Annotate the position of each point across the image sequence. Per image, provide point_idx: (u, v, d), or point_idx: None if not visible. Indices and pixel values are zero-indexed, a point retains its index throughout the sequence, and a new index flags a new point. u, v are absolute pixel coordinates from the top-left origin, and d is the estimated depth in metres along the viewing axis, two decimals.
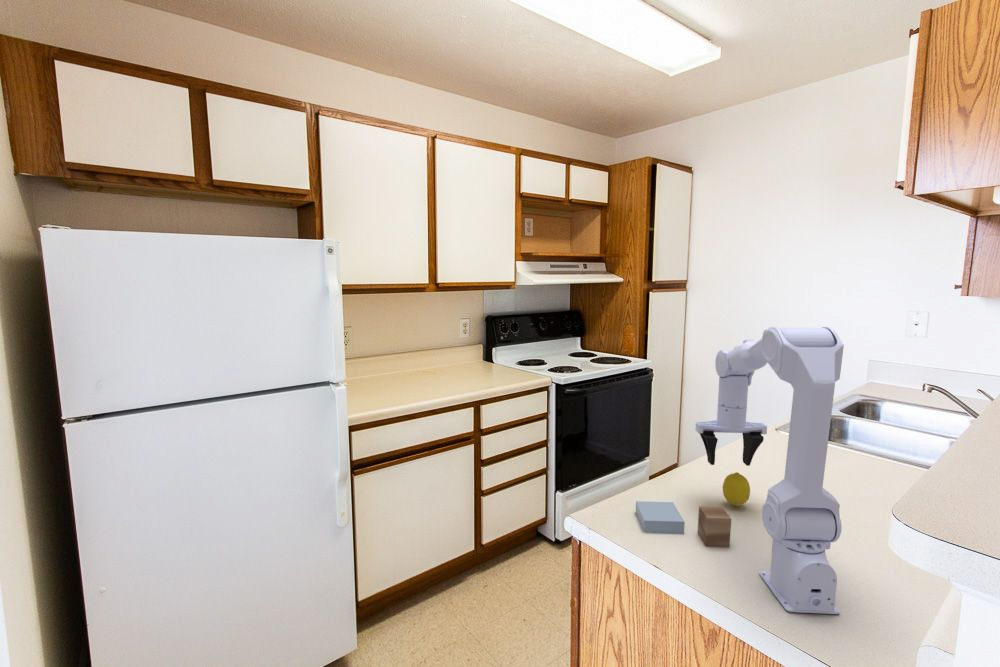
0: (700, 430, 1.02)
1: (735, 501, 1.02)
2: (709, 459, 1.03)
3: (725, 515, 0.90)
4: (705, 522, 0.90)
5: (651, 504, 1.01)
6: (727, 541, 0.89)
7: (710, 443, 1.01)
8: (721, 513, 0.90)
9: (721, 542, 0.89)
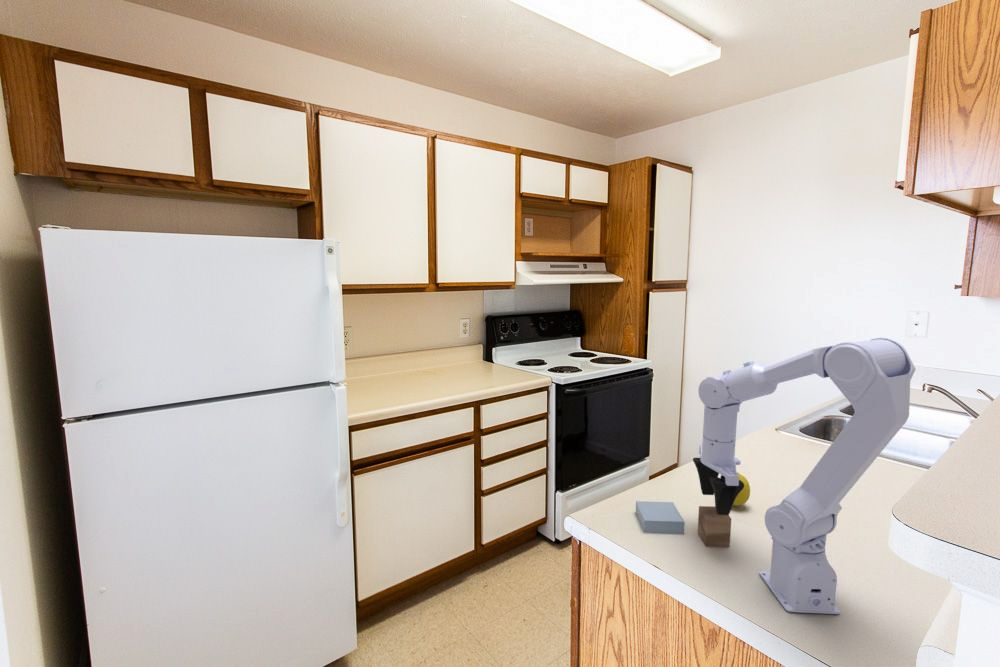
0: (699, 451, 0.96)
1: (735, 501, 1.02)
2: None
3: (725, 515, 0.90)
4: (705, 522, 0.90)
5: (651, 504, 1.01)
6: (727, 541, 0.89)
7: (696, 466, 0.95)
8: None
9: (721, 542, 0.89)
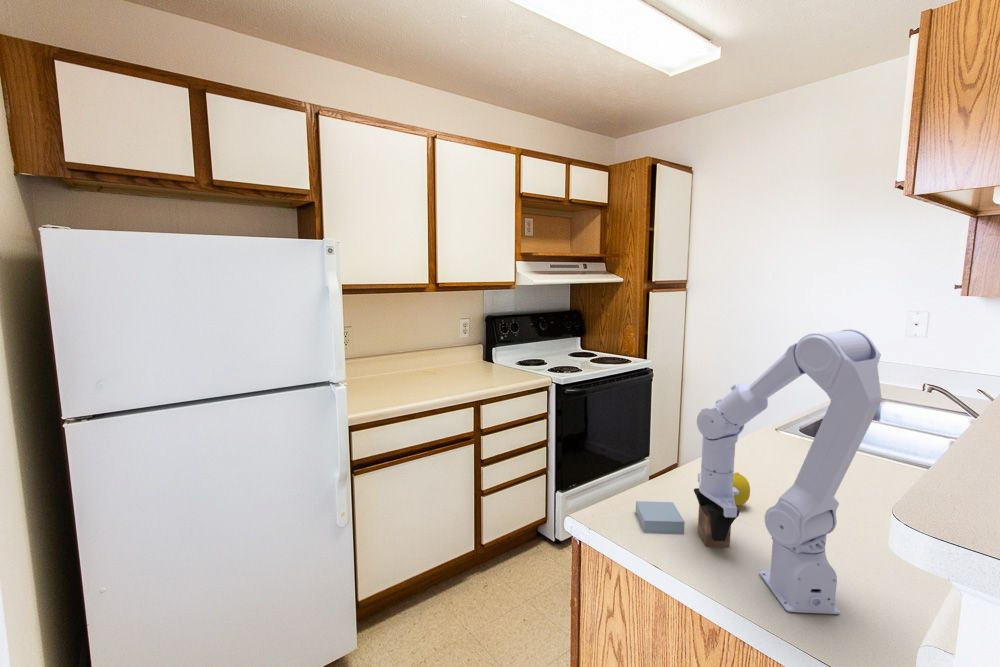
0: (698, 479, 0.97)
1: (735, 501, 1.02)
2: None
3: None
4: (705, 522, 0.90)
5: (651, 504, 1.01)
6: (727, 541, 0.89)
7: None
8: None
9: (721, 542, 0.89)
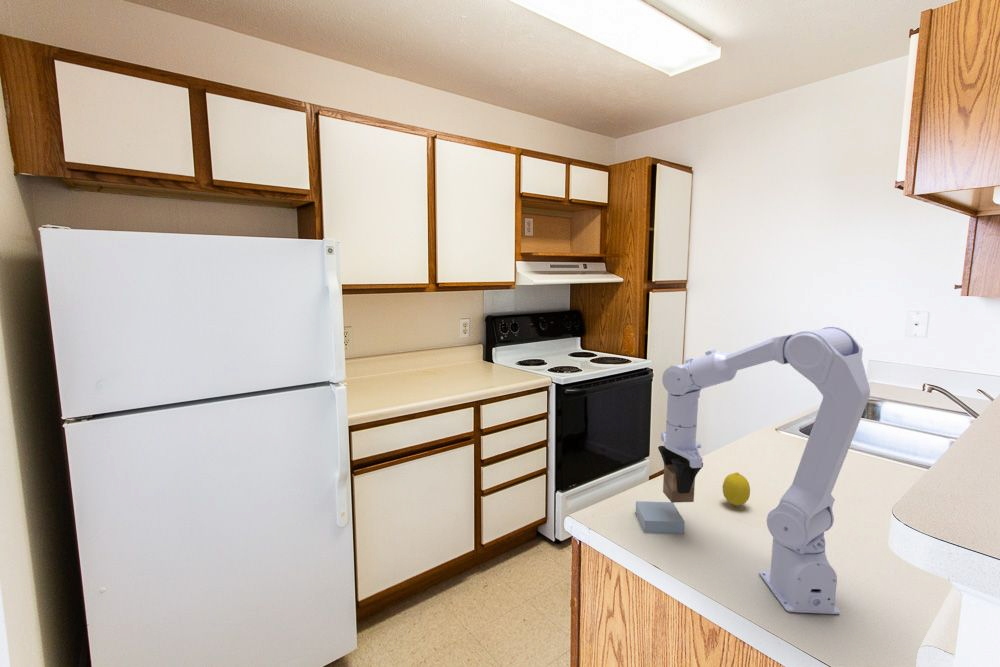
0: (661, 437, 1.00)
1: (735, 501, 1.02)
2: None
3: None
4: (670, 479, 0.93)
5: (651, 504, 1.01)
6: (691, 496, 0.93)
7: (661, 454, 0.98)
8: None
9: (686, 497, 0.93)
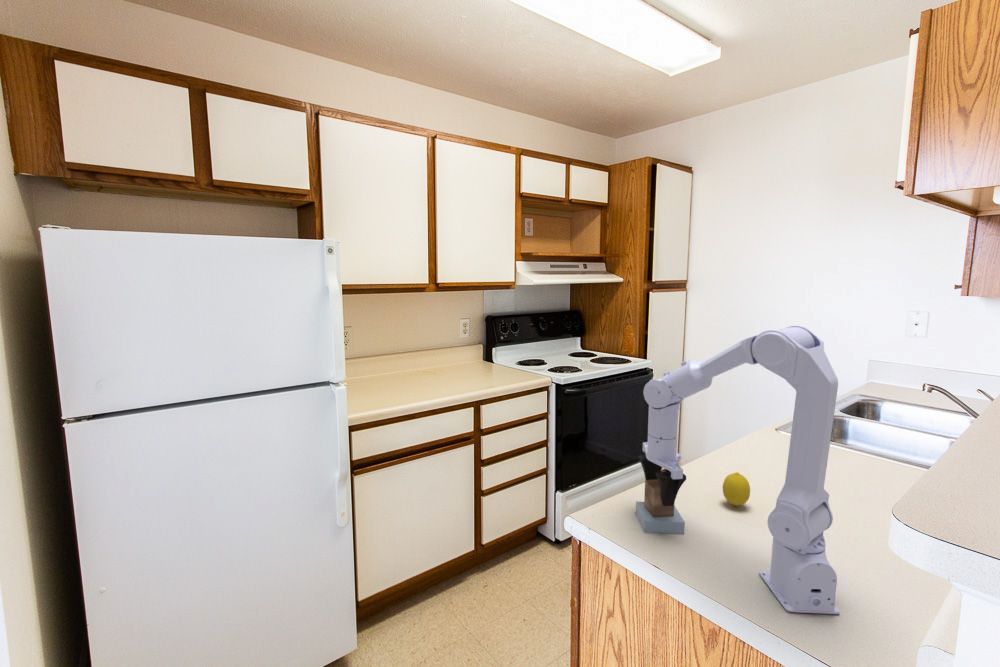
0: (643, 448, 1.03)
1: (735, 501, 1.02)
2: None
3: None
4: (651, 494, 0.96)
5: None
6: (671, 510, 0.96)
7: (641, 463, 1.01)
8: None
9: (666, 511, 0.96)
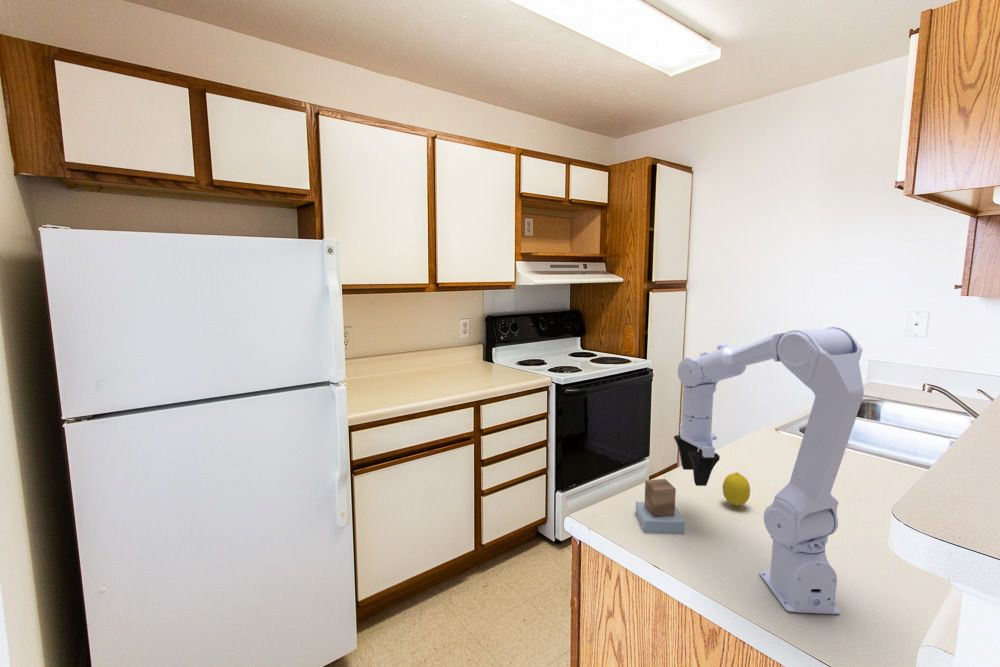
0: (680, 429, 1.03)
1: (735, 501, 1.02)
2: None
3: (669, 485, 0.96)
4: (652, 494, 0.96)
5: None
6: (672, 510, 0.96)
7: None
8: (666, 485, 0.97)
9: (667, 511, 0.96)
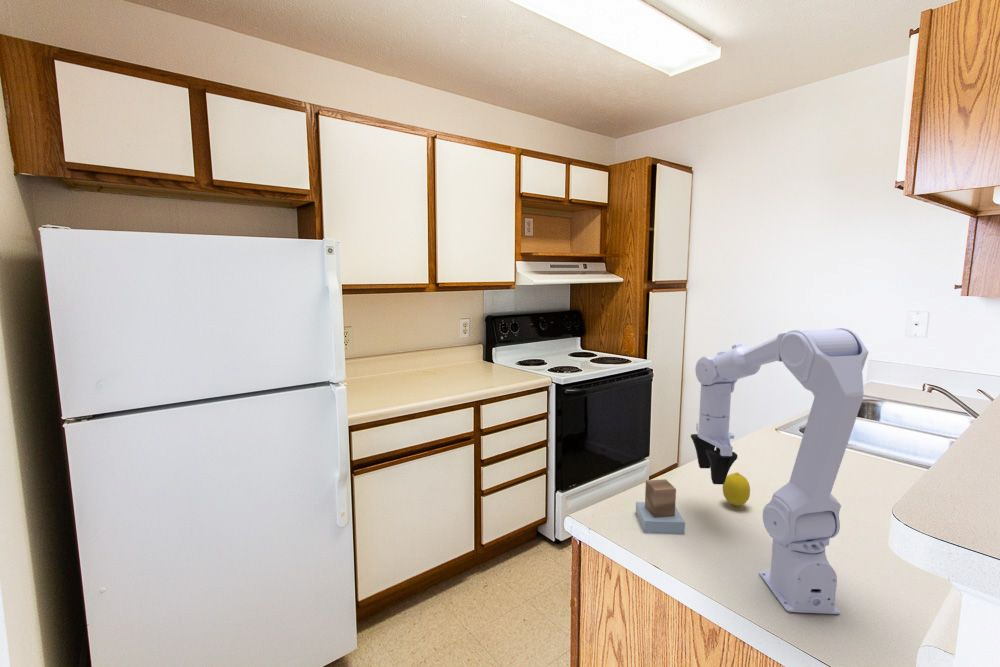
0: (696, 428, 1.04)
1: (735, 501, 1.02)
2: None
3: (670, 486, 0.96)
4: (653, 494, 0.96)
5: None
6: (672, 510, 0.96)
7: (693, 442, 1.02)
8: (666, 485, 0.97)
9: (667, 512, 0.96)
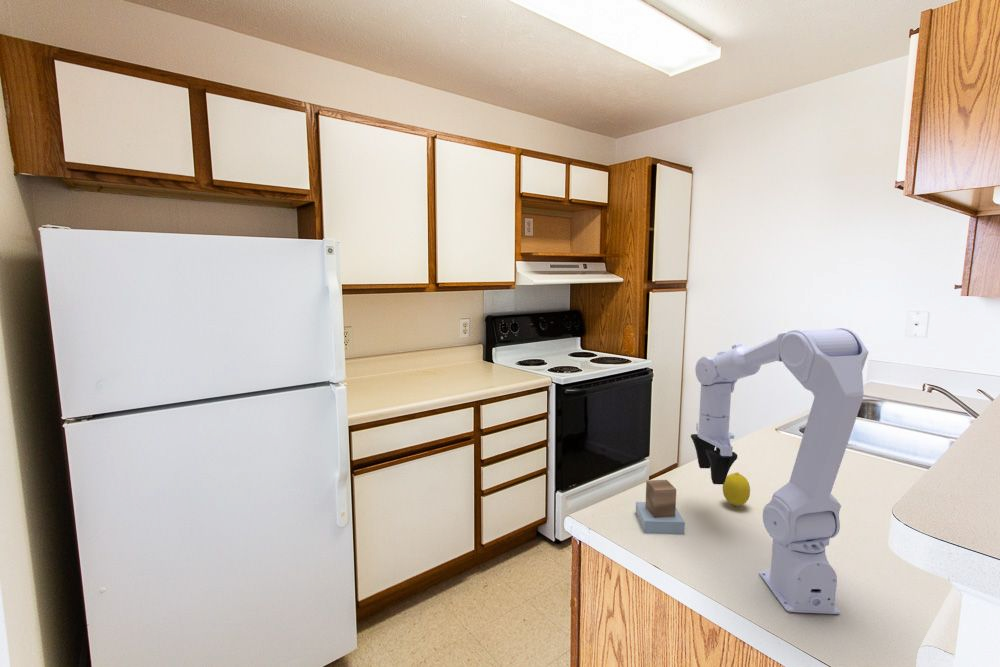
0: (696, 428, 1.04)
1: (735, 501, 1.02)
2: None
3: (670, 486, 0.96)
4: (653, 494, 0.96)
5: None
6: (673, 511, 0.95)
7: (693, 442, 1.02)
8: (667, 485, 0.96)
9: (668, 512, 0.95)
